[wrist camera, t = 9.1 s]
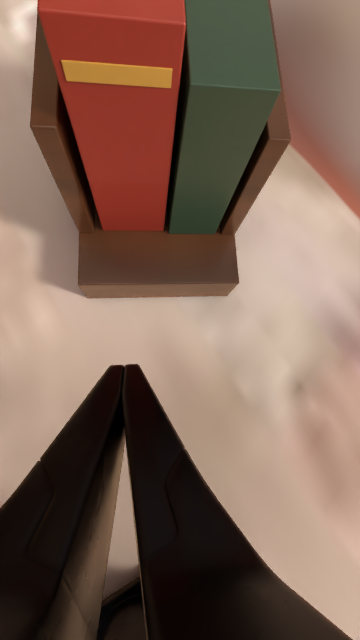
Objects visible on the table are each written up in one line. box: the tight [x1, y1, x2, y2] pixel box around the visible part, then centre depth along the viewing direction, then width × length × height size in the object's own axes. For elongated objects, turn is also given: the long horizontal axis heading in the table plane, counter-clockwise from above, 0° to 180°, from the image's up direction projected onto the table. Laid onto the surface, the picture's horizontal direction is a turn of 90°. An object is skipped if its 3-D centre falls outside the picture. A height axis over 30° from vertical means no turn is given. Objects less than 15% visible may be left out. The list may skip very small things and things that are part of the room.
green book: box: [167, 0, 281, 234], centre depth 15 cm, size 10×3×10 cm, turn 3°
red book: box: [37, 0, 186, 231], centre depth 14 cm, size 10×4×12 cm, turn 3°
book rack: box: [30, 0, 291, 298], centre depth 17 cm, size 15×10×11 cm
